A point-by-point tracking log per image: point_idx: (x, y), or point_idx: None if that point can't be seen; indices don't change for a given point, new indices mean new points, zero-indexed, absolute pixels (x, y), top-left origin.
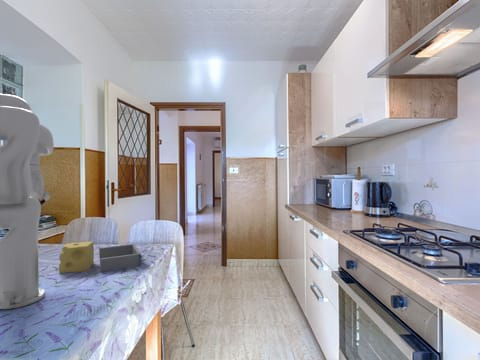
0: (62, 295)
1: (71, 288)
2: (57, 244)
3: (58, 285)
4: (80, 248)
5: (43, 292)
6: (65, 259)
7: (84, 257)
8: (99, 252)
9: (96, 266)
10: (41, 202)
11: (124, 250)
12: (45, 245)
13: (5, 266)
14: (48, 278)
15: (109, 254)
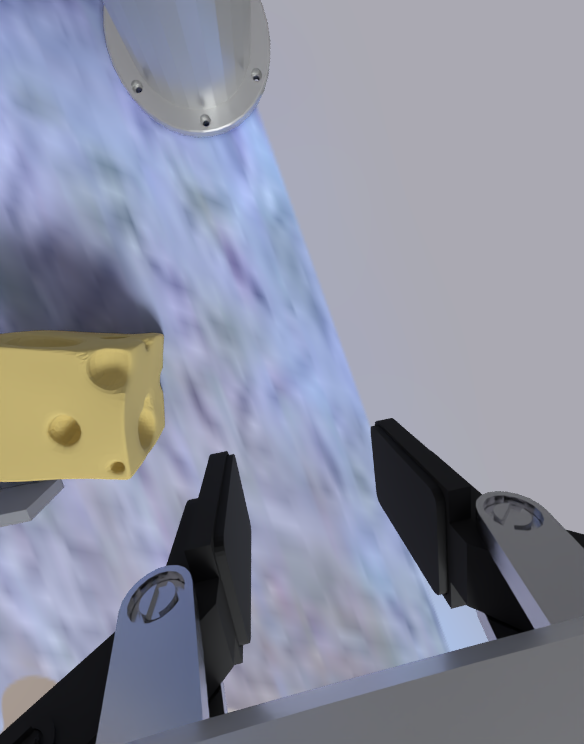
0: (39, 27)
1: (34, 107)
2: None
3: (108, 175)
4: (6, 345)
5: (109, 41)
6: (117, 340)
7: (23, 335)
8: (39, 496)
9: None
10: (86, 702)
11: None
12: None
13: None
14: (184, 285)
15: (6, 495)
